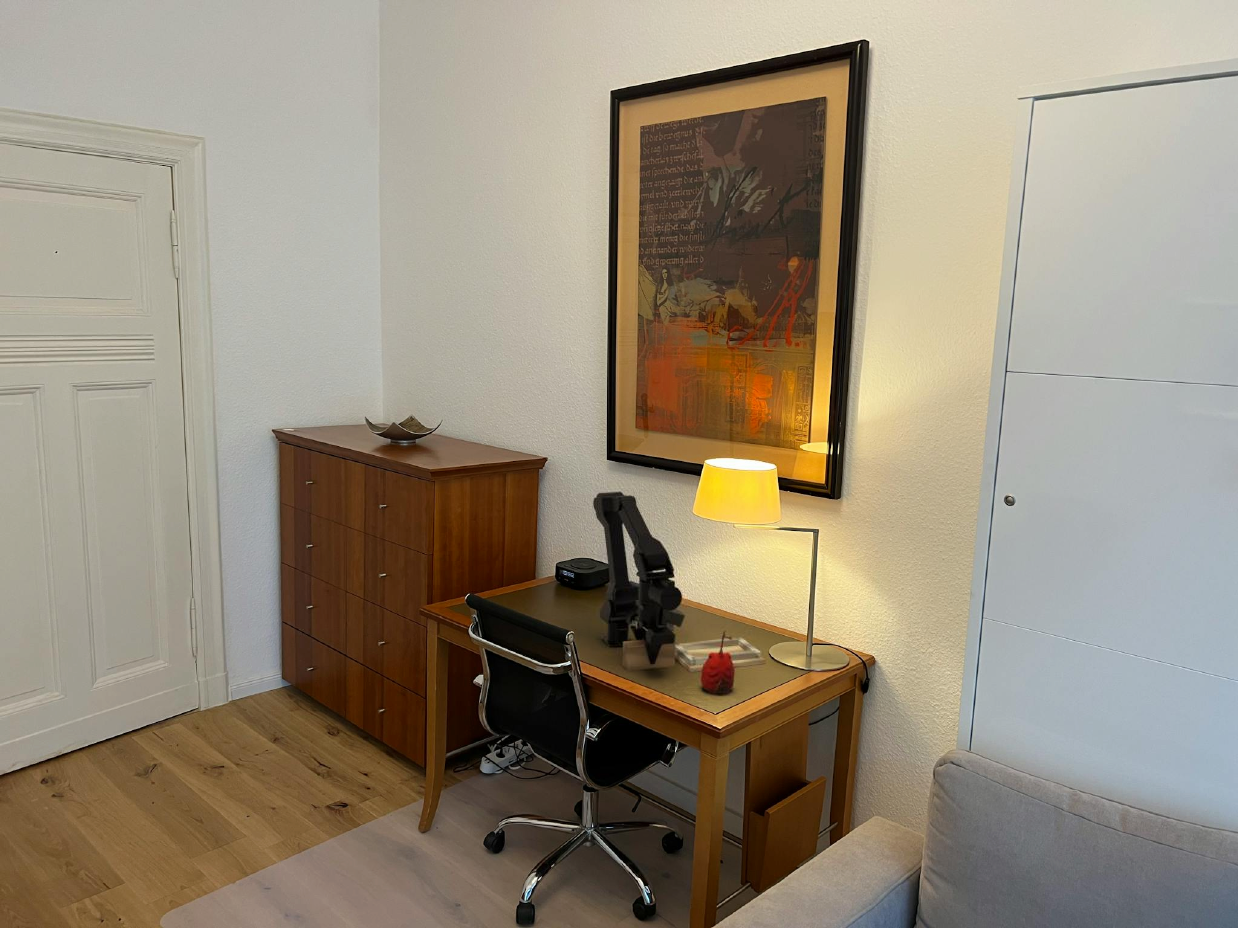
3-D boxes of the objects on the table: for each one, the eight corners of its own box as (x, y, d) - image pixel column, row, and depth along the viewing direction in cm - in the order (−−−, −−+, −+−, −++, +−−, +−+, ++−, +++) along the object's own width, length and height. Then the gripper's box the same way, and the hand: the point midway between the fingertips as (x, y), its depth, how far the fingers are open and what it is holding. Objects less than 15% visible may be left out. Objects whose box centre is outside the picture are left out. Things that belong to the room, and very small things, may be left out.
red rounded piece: (729, 683, 213) (732, 621, 211) (738, 695, 206) (741, 631, 204) (697, 684, 212) (699, 622, 210) (705, 696, 205) (707, 632, 203)
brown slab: (622, 665, 223) (623, 641, 222) (668, 660, 227) (669, 637, 226) (627, 671, 219) (628, 647, 218) (674, 666, 223) (675, 642, 222)
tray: (668, 651, 232) (668, 642, 232) (739, 644, 239) (740, 635, 238) (690, 672, 219) (690, 662, 219) (765, 663, 226) (765, 653, 225)
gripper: (697, 607, 214) (694, 670, 217) (667, 584, 232) (665, 644, 234) (652, 611, 211) (650, 675, 213) (625, 588, 228) (624, 648, 231)
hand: (648, 660), depth 223 cm, fingers open, 5 cm apart
